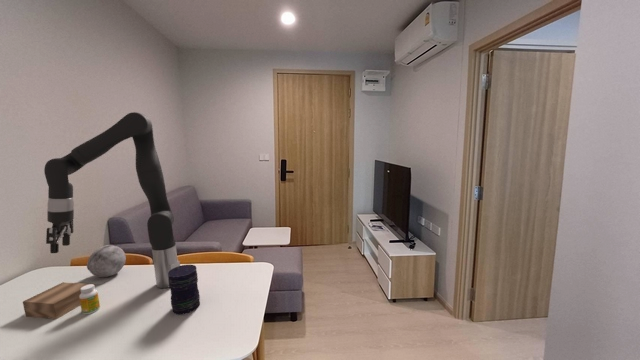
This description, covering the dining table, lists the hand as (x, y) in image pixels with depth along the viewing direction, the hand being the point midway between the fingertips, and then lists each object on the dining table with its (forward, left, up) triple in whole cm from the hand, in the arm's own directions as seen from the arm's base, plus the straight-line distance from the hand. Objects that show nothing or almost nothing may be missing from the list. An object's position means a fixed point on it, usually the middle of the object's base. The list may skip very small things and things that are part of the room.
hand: (60, 248), depth 110 cm
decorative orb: (+4, -22, -23) cm, 31 cm away
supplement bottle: (-15, +5, -23) cm, 28 cm away
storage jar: (-51, -1, -23) cm, 56 cm away
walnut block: (0, +4, -22) cm, 23 cm away
